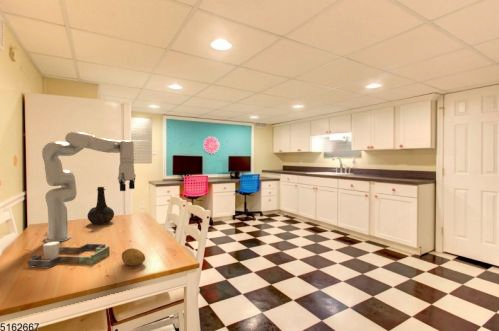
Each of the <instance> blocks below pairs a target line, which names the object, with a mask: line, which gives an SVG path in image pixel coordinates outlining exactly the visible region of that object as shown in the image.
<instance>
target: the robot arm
mask: <svg viewBox="0 0 499 331" xmlns="http://www.w3.org/2000/svg"><path fill="white" fill-rule="evenodd" d="M64 139H65V140H64V141H51V142H47V143H46V144H45V145H44V146H43V148H42V150H41V156H42V160H43V163H44V164H43V165H44V170H45V171H44V172H45V178H46V183H47V185H48V186H50V187H55V188H52V189H50V190H48V191H47V192H46V194H45V196H44V198H45V203H46V206H47V207H46V208H47V220H48V222H47V223H48V226H47V228H48V229H47V230H48V231H46V232H45V233H44V234H43V237H46V238H45V243H48V242H54V241H58V242H64V241H68V240H70V239H71V238H72V235H70V234H69V233H68V232H69V231H68V230H69V229H68V208H67V206H66V205H65V203H68V202H71V201H74V200H75V199H76V197H77V194H78V193H77V184H76V178H75V174H74V173H73V172H72V171H71V170H68V169H64V168H63V162H62V161H61V159H60V158H59V157H60V156H61V157H71V156H74V155H76V154H78V153H80V152H81V151H83V149H89V150H92V151H95V152H96V151H97V152H102V153H107V154H108V153H109V154H110V153H113V154H118V153H119V165H118V176H117V180H118V184H119V191H120V192H126V191H127V190H126V189H127V188H126V186H127V185H126V181H128V190H134V189H135V182H136V177H137V175H136V174H135V158H134V157H135V152H134V151H135V148H134V146H135V145H134V141H133V140H130V139H129V140H125V139H124V140H118V139H117V140H115V139H109V138H108V139H107V138H101V137H97V136H96V135H94V134H89V133H86V132H80V131H70V132H68V133H66V135H65V137H64ZM59 186H60V187H59ZM57 187H58V188H57Z"/></svg>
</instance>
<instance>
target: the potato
mask: <svg viewBox="0 0 499 331" xmlns="http://www.w3.org/2000/svg"><path fill="white" fill-rule="evenodd" d="M121 261H122V262H123V264H125V265H128V266H132V267H133V266H134V267H135V266H139V265H142V264H143V263H144V262H145V261H146V255H145V254H144V253H143V251H141V250H140V249H137V248H128V249H125V250H124V251H123V252H122V253H121Z"/></svg>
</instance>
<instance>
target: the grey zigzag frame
mask: <svg viewBox="0 0 499 331" xmlns="http://www.w3.org/2000/svg"><path fill="white" fill-rule="evenodd" d="M89 250H90V251H95V252H94V253H92V254H91V255H90V256H81V255H80V256H79V255H78V256H77V255H75V256H74V255H58V257H55V258H52V259H45V260H44V259H43V255H42V254H31V255H30V259H28V260H27V267H28V266H34V267H33V268H46V267H48V268H49V267H50V268H52V267H53V266H55V265H58V264H60V263H64V264H89V265H91V264H93V265H94V264H95V263H97V262H98V261H101V260H102V259H104V258H105V257H108V256H109V255H110V254H111V253H110V246H108V245H107V246H106V244H105V243H85V244H84V245H81V246H79V247H78V246H59V254H82V253H83V252H86V251H89ZM50 268H49V269H50Z"/></svg>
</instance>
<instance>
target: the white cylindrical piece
mask: <svg viewBox="0 0 499 331" xmlns="http://www.w3.org/2000/svg"><path fill="white" fill-rule="evenodd" d="M59 247H60V242H58V241H54V242H44V244H42V248H43V255H44V256H43V257H44V259H45V260H51V259H53V258H55V257H58V256H60V255H59V254H60V253H59Z"/></svg>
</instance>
